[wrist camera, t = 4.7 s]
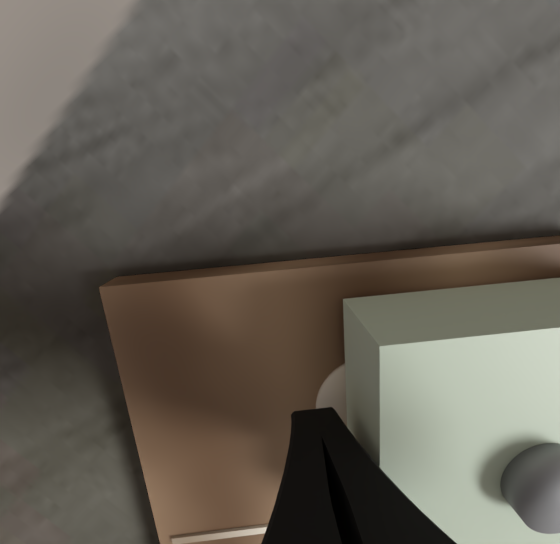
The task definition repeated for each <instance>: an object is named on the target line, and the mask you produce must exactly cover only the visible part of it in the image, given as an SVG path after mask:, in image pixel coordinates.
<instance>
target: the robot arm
mask: <svg viewBox="0 0 560 544" xmlns="http://www.w3.org/2000/svg"><path fill="white" fill-rule="evenodd" d="M261 544H457V543H456V542H455V541H453V540H452V539H451V538H450V537H449V536H448V535H447V534H446V533H444V532H443V531H442V530H441V529H440V528H439V527H438V526H437V525H436V524H435V523H434V522H432V521H431V520H430V519H429V518H428V517H427V516H426V515H425V514H424V513H423V512H422V511H421V510H420V509H419V508H418V507H417V506H416V505H415V504H414V503H413V502H412V501H411V500H410V499H409V498H408V497H407V496H406V495H405V494H404V493H403V492H402V491H401V490H400V489H399V488H398V487H397V486H396V485H395V484H394V483H393V481H392V480H391V479H390V478H389V477H388V476H387V475H386V474H385V473H384V472H383V471H382V469H381V468H380V467H379V466H378V465H377V464H376V462H375V461H374V460H373V459H372V458H371V457H370V455H369V454H368V453H367V452H366V451H365V449H364V448H363V447H362V446H361V445H360V443H359V442H358V441H357V440H356V438H355V437H354V436H353V434H352V433H351V432H350V430H349V429H348V428H347V426H346V425H345V423H344V422H343V421H342V419H341V418H340V416H339V415H338V413H337V412H336V410H335V409H334V408H332V407H327V408H318V409H309V410H300V411H294V412H293V413H292V414H291V435H290V442H289V448H288V453H287V458H286V463H285V468H284V472H283V476H282V480H281V483H280V487H279V491H278V494H277V498H276V501H275V505H274V508H273V511H272V514H271V517H270V520H269V523H268V526H267V529H266V532H265V535H264V537H263V540H262V543H261Z"/></svg>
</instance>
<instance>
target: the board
mask: <svg viewBox="0 0 560 544" xmlns="http://www.w3.org/2000/svg"><path fill="white" fill-rule="evenodd" d="M550 278H560V235H558V236H548V237H537V238H526V239H516V240H505V241H494V242H483V243H473V244H462V245H451V246H441V247H430V248H419V249H409V250H398V251H387V252H376V253H366V254H355V255H344V256H334V257H323V258H312V259H301V260H291V261H280V262H269V263H259V264H248V265H237V266H227V267H216V268H205V269H194V270H184V271H173V272H162V273H152V274H141V275H130V276H120V277H116V278H114V279H112V280H110V281H109V282H107V283H105V284H103V285H102V286H100V287H99V291H100V295H101V299H102V304H103V308H104V312H105V316H106V320H107V324H108V329H109V333H110V337H111V341H112V345H113V349H114V354H115V358H116V362H117V366H118V370H119V374H120V379H121V383H122V387H123V391H124V395H125V399H126V404H127V408H128V412H129V416H130V420H131V424H132V429H133V433H134V437H135V441H136V445H137V449H138V454H139V458H140V462H141V466H142V470H143V474H144V479H145V483H146V487H147V491H148V495H149V499H150V504H151V508H152V512H153V516H154V520H155V524H156V529H157V533H158V537H159V541H160V544H261V543H262V540H263V537H264V535H265V532H266V529H267V526H268V523H269V520H270V517H271V514H272V511H273V508H274V505H275V501H276V498H277V494H278V491H279V487H280V483H281V480H282V476H283V472H284V468H285V463H286V458H287V453H288V448H289V442H290V435H291V414H292V413H293V412H294V411H300V410H309V409H318V408H327V407H332V408H334V409H335V410H336V412H337V413H338V415H339V416H340V418H341V419H342V421H343V422H344V423H345V425H346V426H347V408H346V378H345V348H344V318H343V299H347V298H357V297H367V296H378V295H388V294H398V293H408V292H418V291H428V290H438V289H448V288H459V287H469V286H479V285H489V284H499V283H509V282H519V281H530V280H540V279H550Z"/></svg>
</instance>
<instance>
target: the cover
mask: <svg viewBox="0 0 560 544" xmlns="http://www.w3.org/2000/svg"><path fill="white" fill-rule="evenodd" d="M343 318H344V348H345V378H346V408H347V428H348V429H349V430H350V432H351V433H352V434H353V436H354V437H355V438H356V440H357V441H358V442H359V443H360V445H361V446H362V447H363V448H364V449H365V451H366V452H367V453H368V454H369V455H370V457H371V458H372V459H373V460H374V461H375V462H376V464H377V465H378V466H379V467H380V468H381V469H382V471H383V472H384V473H385V474H386V475H387V476H388V477H389V478H390V479H391V480H392V481H393V483H394V484H395V485H396V486H397V487H398V488H399V489H400V490H401V491H402V492H403V493H404V494H405V495H406V496H407V497H408V498H409V499H410V500H411V501H412V502H413V503H414V504H415V505H416V506H417V507H418V508H419V509H420V510H421V511H422V512H423V513H424V514H425V515H426V516H427V517H428V518H429V519H430V520H431V521H432V522H434V523H435V524H436V525H437V526H438V527H439V528H440V529H441V530H442V531H443V532H444V533H446V534H447V535H448V536H449V537H450V538H451V539H452V540H453V541H455V542H456V543H457V544H560V278H550V279H540V280H530V281H519V282H509V283H499V284H489V285H479V286H469V287H459V288H448V289H438V290H428V291H418V292H408V293H398V294H388V295H378V296H367V297H357V298H347V299H343Z"/></svg>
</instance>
